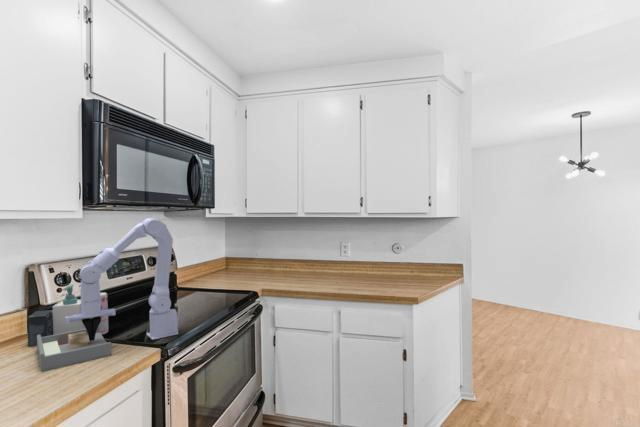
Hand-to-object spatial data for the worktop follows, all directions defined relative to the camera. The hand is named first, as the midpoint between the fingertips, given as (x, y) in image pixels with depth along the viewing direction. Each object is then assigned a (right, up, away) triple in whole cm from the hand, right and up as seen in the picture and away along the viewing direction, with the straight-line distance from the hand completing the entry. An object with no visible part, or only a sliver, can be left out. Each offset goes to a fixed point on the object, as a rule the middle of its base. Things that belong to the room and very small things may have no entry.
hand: (91, 339), depth 129 cm
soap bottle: (-15, -3, +12) cm, 20 cm away
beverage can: (-6, -3, +16) cm, 17 cm away
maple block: (-3, -1, -2) cm, 4 cm away
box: (-22, -3, +7) cm, 23 cm away
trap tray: (-4, -3, -3) cm, 6 cm away
